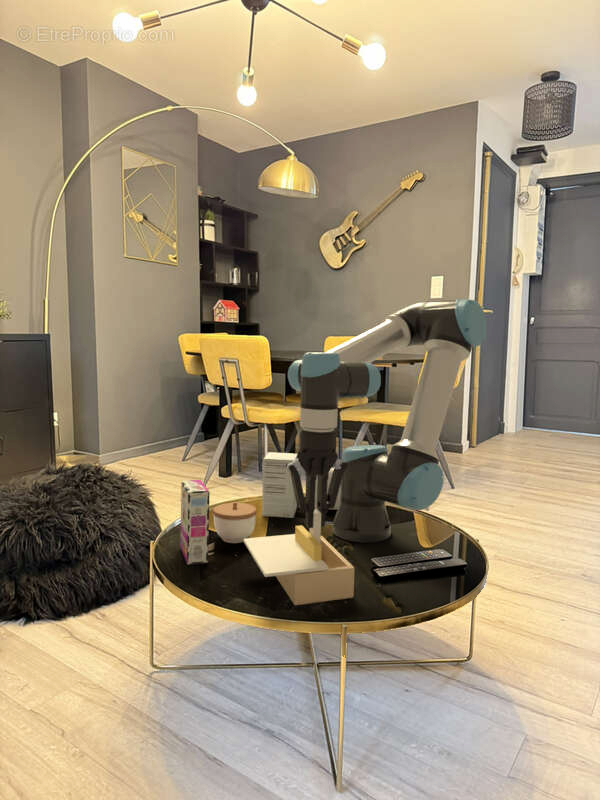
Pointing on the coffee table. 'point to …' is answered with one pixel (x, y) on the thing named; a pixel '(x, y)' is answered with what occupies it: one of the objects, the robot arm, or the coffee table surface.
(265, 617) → the coffee table surface
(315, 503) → the photo printer
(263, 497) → the supplement box
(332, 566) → the mailer box
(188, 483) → the candy bar box
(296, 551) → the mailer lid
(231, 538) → the lidded jar
